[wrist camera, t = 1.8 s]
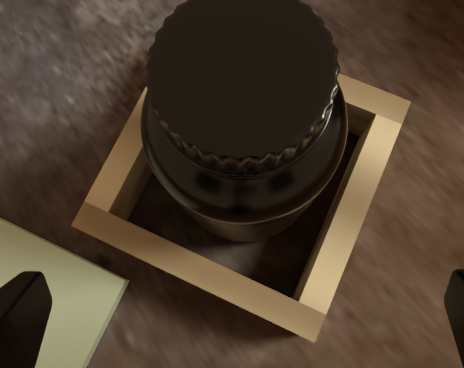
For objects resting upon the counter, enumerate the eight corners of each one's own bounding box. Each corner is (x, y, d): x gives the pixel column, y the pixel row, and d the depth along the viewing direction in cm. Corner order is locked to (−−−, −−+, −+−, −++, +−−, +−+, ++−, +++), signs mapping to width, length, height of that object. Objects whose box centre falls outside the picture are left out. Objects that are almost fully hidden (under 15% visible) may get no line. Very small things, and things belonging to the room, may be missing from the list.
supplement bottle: (155, 155, 23) (56, 15, 11) (268, 93, 23) (289, -101, 11) (219, 271, 21) (184, 256, 9) (337, 203, 22) (444, 109, 10)
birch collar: (305, 334, 20) (314, 342, 17) (94, 233, 22) (70, 225, 19) (389, 125, 22) (411, 101, 20) (193, 46, 24) (185, 13, 21)
